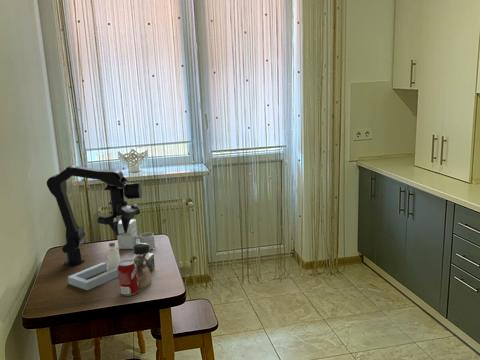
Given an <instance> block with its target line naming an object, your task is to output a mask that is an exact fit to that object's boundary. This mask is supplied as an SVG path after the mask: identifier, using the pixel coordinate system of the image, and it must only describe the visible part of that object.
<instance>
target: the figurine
mask: <svg viewBox="0 0 480 360" xmlns="http://www.w3.org/2000/svg"><path fill="white" fill-rule="evenodd" d="M145 256H146V254H145V253H144V254H143V255H142V256H141V255H140V254H138V255H137V256H136V257H135V258H134V263H135V264H136V268H137V277H138V286H139V289H140V288H141V289H142V288H146V287H149V286H150V285H151V284H152V273H151V274H150V271H149V269H148V261H147V259H146V258H145ZM144 261H146V264H143V262H144Z"/></svg>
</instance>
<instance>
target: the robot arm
mask: <svg viewBox="0 0 480 360" xmlns="http://www.w3.org/2000/svg"><path fill="white" fill-rule="evenodd" d="M71 177H76V178H83V179H84V178H85V179H91V180H98V181H101V182H103V183H105V184H107V185H106V186H105V188H104V189H103V190H104V191H109V198H110V201H109V202H108V204H109V205H110V206H111V211H109V214H103V215H99V216H98V218H97V223H98V224H100V225H101V224H102V225H105V226H106V225H108V226H109V227H110V229H111V230H112V231H113V233H114V235H115V236H116V237H117V236H118V223H119V221H120V220H122V225H123V229H124V232H125V233H127V230H128V226H129V222H130V220H131V219H134V218H135V216H137V215H140V214H141V209H140V208H139V206H138V204H131V205H129V204H128V202H127V200H130V199H135V200H137V199H142V197H143V189H142V186H141V183H140V182H138V181H137V182H130V181H128V179H127V178H126V177H125V176H124V173H123V172H122V170H121V169H118V168H117V169H115V168H113V169H112V168H111V169H97V168H90V167H85V166H77V165H74V164H71V165H69V166H66V168H65V169H64V170H62V171H61V172H60V173H57V174H55V175H52V176H50V177H48V179H47V181H46V186H47V188H48V190H49V192H50V193H51V195H52V196H54V198H55V200H56V203H57V206H58V209H59V213H60V214H61V217H62V220H63V224H64V227H65V241H66V243H65V244H64V245H63V247H62V248H61V250H62V252H63V253H65V256H66V257H65V258H66V261H64V262H63V264H64V265H68V266H71V267H74V266H77V265H78V264H82V263H84V262H85V259H82V253H81V249H80V247H81V246H82V244H83V242H85V240H86V239H85V238H86V233H85V231H84V227H83V226H79V225H78V224H77V222H76V218H75V215H74V212H73V209H72V206H71V204H70V200H69V197H68V194H67V191H68V190H67V189H68V185H67V181H68V180H69V179H70V178H71ZM126 199H127V200H126ZM118 218H120V220H119V221H118V220H117V219H118Z"/></svg>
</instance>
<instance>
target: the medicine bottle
mask: <svg viewBox="0 0 480 360" xmlns="http://www.w3.org/2000/svg"><path fill="white" fill-rule="evenodd" d="M144 253H145V254H146V256H145V258H146V259H147V261H148V269H149V271H150V274H151V275H152V273H153V272H154V271H155V269H156V265H155V263H156V262H155V255H154V253H153V252H150V251H149V245H148V244H146V243H140V242H138V244H136V245H135V246H134V248H133V255H134V256H132V258H130V260H133V261H134V258H135V257H136V256H137V255H138V254H140V255H141V256H142V255H143V254H144ZM143 264H146V261H144V262H143Z"/></svg>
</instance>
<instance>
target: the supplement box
mask: <svg viewBox="0 0 480 360" xmlns="http://www.w3.org/2000/svg"><path fill="white" fill-rule="evenodd" d="M136 236H138V227H137V219H136V218H135V219H134V218H132V219H131V220H130V222H129V226H128V230H127V233H125V232H124V229H123V225H122V220H121V219H119V223H118V236H116V237H117V249H119V250H134V246H135V245H134V237H136ZM136 244H139V240H138V239H136Z"/></svg>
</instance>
